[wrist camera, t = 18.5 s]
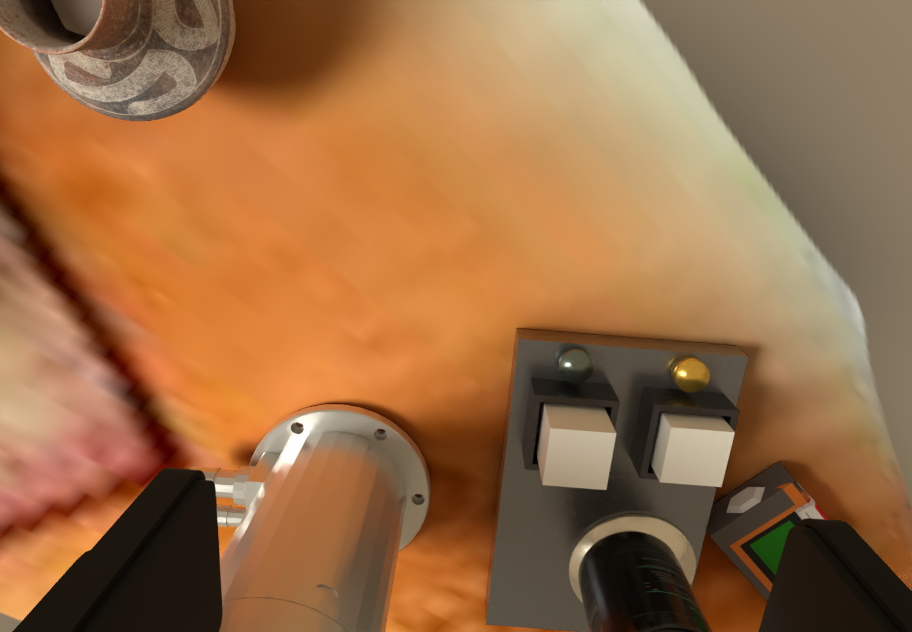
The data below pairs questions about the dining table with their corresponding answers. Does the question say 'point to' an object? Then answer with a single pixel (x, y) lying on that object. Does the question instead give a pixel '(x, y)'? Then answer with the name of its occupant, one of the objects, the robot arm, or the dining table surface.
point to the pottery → (127, 50)
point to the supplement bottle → (637, 587)
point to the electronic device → (760, 523)
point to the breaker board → (631, 475)
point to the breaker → (575, 445)
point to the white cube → (691, 448)
